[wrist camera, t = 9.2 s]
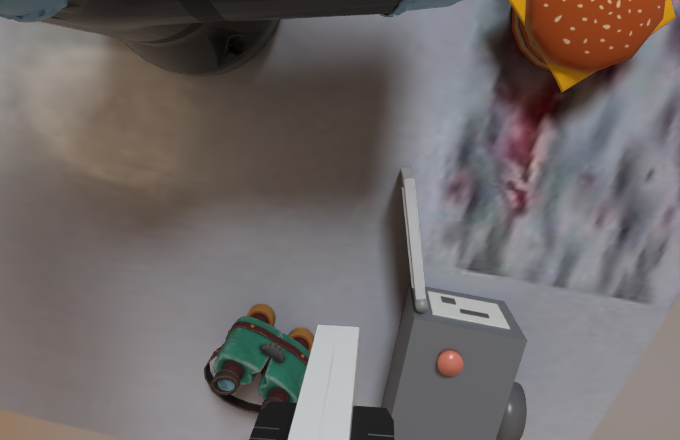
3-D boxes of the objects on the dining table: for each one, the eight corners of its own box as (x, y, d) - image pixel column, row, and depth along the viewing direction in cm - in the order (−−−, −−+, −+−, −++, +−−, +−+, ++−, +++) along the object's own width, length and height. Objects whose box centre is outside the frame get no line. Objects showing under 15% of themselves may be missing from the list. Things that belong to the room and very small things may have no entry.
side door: (410, 283, 43) (414, 313, 37) (398, 168, 40) (401, 180, 34) (422, 282, 43) (428, 312, 37) (411, 166, 40) (416, 178, 34)
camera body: (409, 281, 43) (415, 320, 36) (534, 304, 43) (566, 349, 35) (381, 407, 47) (381, 466, 40) (495, 429, 47) (516, 494, 39)
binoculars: (162, 433, 38) (210, 353, 35) (212, 355, 48) (254, 286, 44) (254, 485, 39) (311, 412, 35) (285, 397, 49) (332, 333, 45)
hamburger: (549, 99, 38) (583, 100, 32) (485, 1, 36) (506, -19, 30) (657, 23, 36) (716, 8, 29) (593, -85, 34) (641, -126, 28)
